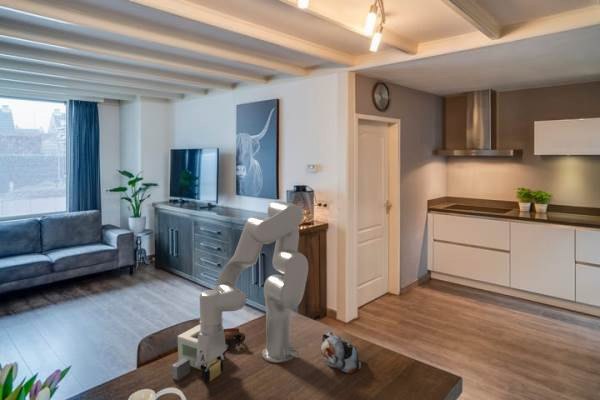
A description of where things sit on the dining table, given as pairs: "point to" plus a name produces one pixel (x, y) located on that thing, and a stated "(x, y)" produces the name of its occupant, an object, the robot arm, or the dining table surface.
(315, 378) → the dining table surface
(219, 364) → the block
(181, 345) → the cream slotted box
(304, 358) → the dining table surface
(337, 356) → the lucky cat figurine
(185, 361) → the block
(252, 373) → the dining table surface
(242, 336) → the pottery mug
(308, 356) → the dining table surface
